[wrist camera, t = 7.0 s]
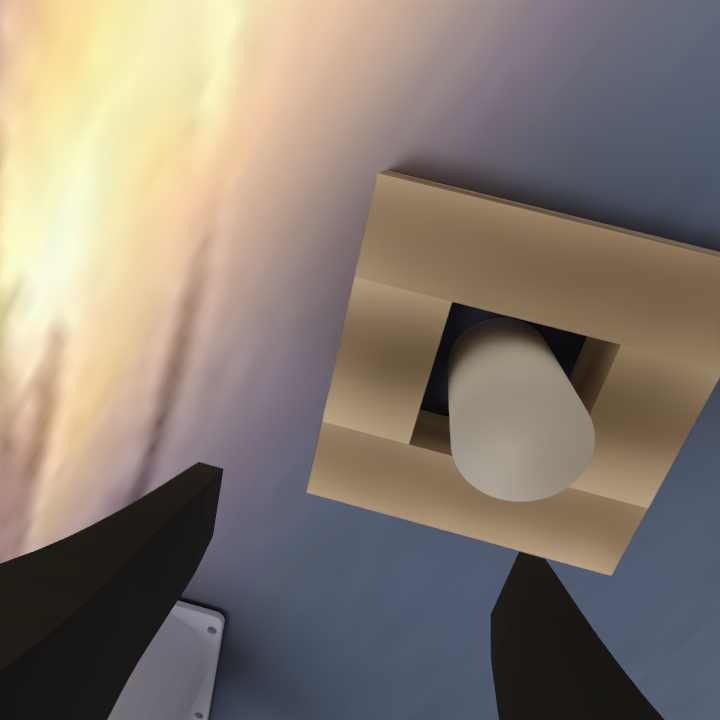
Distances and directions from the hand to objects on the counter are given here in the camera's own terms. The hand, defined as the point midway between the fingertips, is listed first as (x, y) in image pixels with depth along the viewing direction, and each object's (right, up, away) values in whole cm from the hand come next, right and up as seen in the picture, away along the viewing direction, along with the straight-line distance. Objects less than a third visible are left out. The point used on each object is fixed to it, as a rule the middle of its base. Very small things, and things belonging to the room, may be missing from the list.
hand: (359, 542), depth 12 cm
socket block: (+5, +4, +8) cm, 11 cm away
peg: (+5, +4, +8) cm, 11 cm away
